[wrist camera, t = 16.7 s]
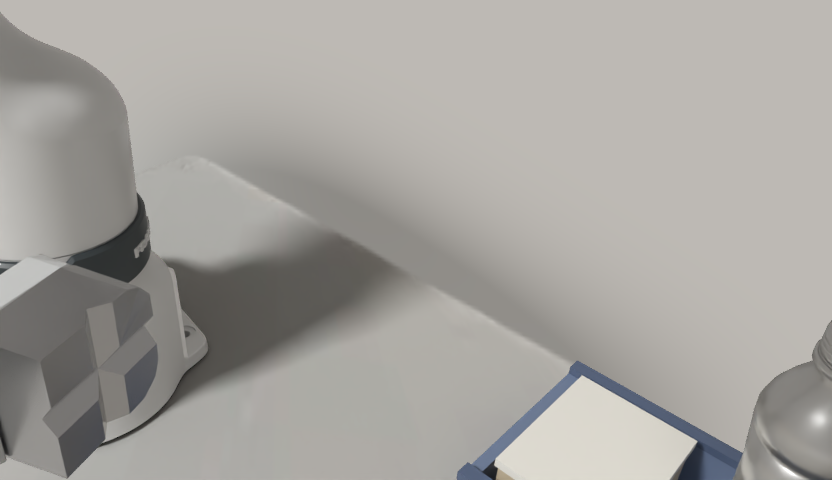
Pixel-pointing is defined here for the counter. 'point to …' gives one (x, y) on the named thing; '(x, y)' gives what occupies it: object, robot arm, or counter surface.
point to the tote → (710, 459)
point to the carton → (595, 441)
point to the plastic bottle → (793, 423)
